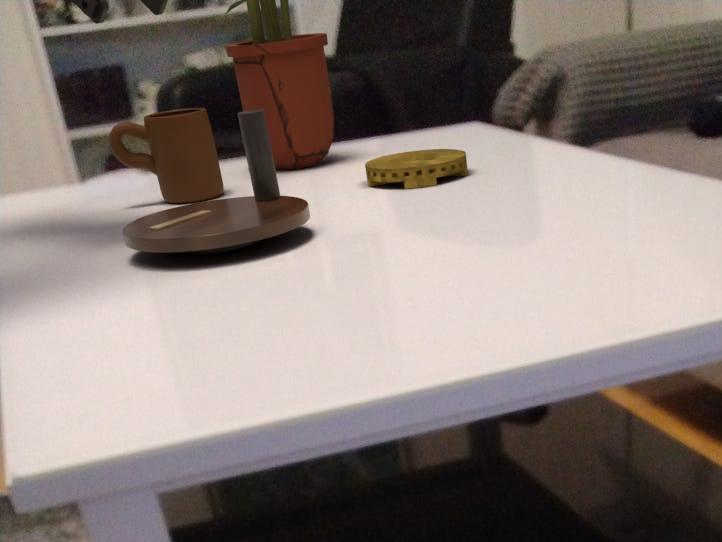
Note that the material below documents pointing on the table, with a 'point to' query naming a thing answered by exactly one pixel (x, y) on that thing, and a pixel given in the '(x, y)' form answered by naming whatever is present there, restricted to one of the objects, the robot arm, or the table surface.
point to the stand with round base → (226, 208)
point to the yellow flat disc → (416, 167)
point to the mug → (174, 153)
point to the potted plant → (285, 85)
